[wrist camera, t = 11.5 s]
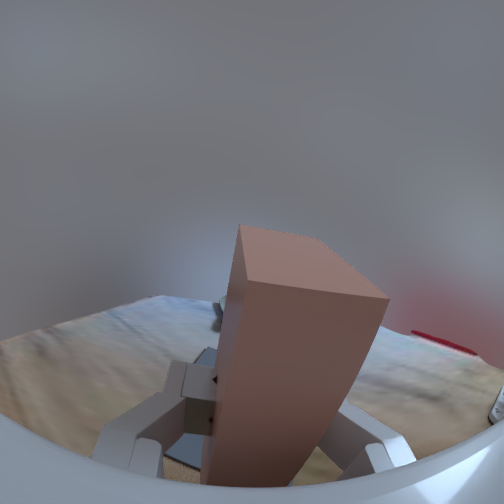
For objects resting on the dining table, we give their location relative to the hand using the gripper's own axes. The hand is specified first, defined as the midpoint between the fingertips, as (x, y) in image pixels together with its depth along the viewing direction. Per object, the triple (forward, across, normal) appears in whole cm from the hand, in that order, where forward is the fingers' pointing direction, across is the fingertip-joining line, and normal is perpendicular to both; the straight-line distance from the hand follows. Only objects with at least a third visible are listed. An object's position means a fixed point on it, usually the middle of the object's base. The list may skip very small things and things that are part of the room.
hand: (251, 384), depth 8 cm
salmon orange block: (-1, 0, +7) cm, 7 cm away
